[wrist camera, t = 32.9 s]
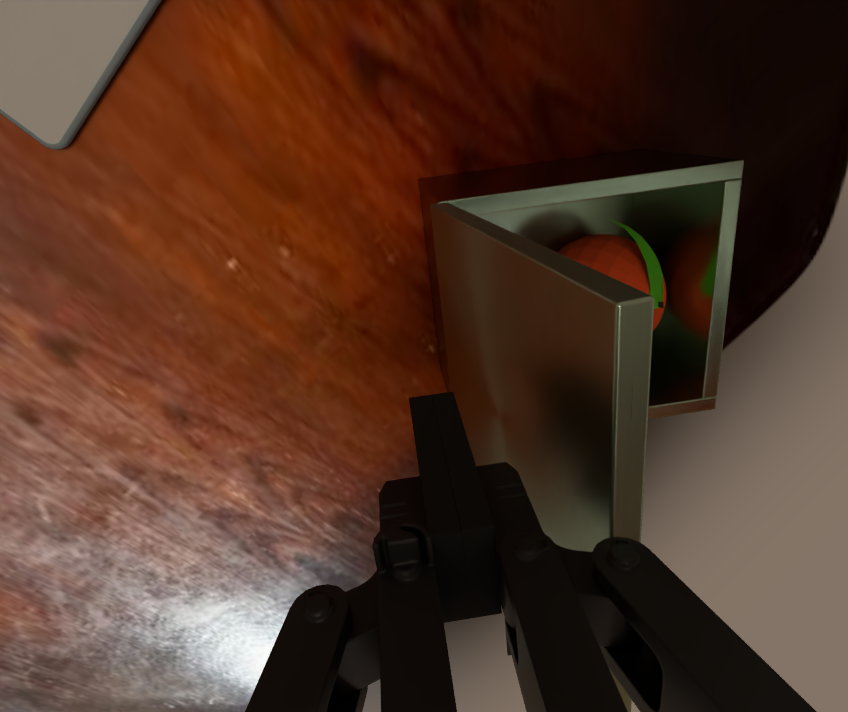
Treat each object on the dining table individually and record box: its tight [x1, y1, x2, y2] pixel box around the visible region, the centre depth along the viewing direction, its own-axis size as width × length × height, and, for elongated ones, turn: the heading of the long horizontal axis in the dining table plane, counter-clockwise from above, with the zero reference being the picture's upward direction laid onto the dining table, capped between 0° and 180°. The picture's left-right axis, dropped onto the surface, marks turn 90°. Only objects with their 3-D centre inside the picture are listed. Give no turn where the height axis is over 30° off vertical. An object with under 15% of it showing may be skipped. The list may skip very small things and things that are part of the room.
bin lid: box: [430, 202, 654, 712], centre depth 19 cm, size 14×13×1 cm
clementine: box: [557, 219, 666, 330], centre depth 31 cm, size 8×7×7 cm
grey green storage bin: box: [418, 149, 744, 419], centre depth 31 cm, size 14×13×10 cm
